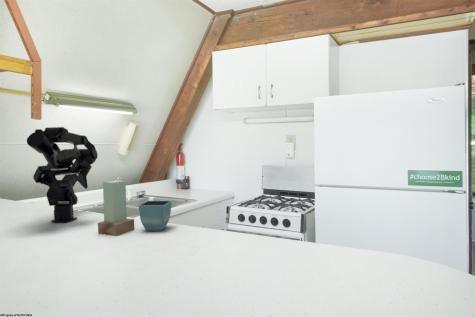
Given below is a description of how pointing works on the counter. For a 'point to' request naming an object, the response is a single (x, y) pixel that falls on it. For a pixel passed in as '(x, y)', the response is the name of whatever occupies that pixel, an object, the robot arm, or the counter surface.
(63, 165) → the robot arm
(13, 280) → the counter surface
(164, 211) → the flower pot
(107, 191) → the sage pillar
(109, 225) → the walnut block
